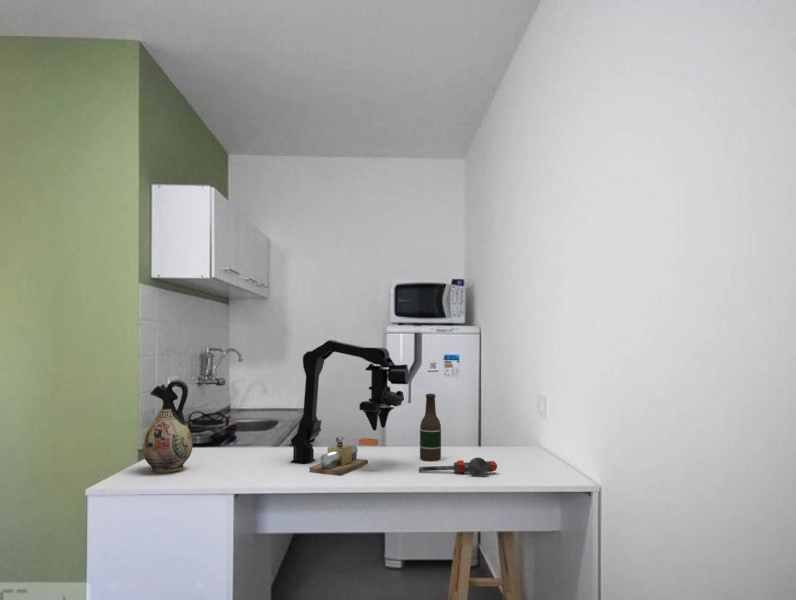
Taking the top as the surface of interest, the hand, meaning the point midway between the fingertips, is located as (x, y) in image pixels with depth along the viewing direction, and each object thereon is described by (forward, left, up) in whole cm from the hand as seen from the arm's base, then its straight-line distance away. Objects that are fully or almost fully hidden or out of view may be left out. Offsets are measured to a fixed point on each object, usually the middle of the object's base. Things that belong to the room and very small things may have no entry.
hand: (378, 428), depth 194 cm
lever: (-5, -7, -4) cm, 10 cm away
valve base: (-11, -7, -13) cm, 19 cm away
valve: (+27, +6, -14) cm, 31 cm away
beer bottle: (+12, +20, -13) cm, 27 cm away
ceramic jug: (-60, -35, -13) cm, 71 cm away
